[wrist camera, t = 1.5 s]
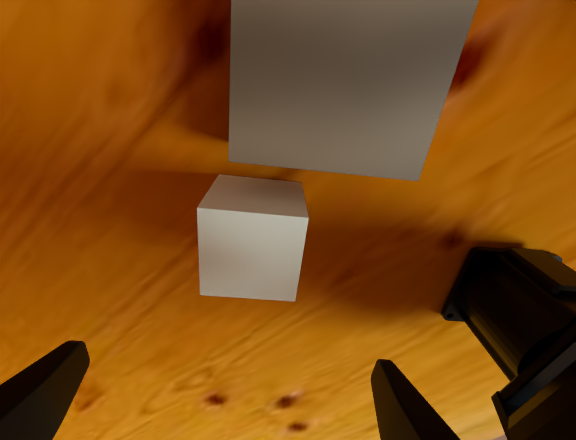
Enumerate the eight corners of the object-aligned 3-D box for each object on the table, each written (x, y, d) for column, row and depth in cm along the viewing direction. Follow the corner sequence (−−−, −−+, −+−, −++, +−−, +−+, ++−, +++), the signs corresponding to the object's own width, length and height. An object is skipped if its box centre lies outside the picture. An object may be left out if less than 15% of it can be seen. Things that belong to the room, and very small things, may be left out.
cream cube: (291, 250, 19) (295, 301, 15) (219, 244, 19) (200, 295, 15) (301, 181, 17) (308, 217, 13) (219, 173, 17) (196, 207, 12)
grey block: (389, 159, 17) (418, 181, 13) (240, 143, 16) (228, 161, 13) (441, -32, 13) (503, -75, 9) (247, -63, 12) (233, -122, 9)
